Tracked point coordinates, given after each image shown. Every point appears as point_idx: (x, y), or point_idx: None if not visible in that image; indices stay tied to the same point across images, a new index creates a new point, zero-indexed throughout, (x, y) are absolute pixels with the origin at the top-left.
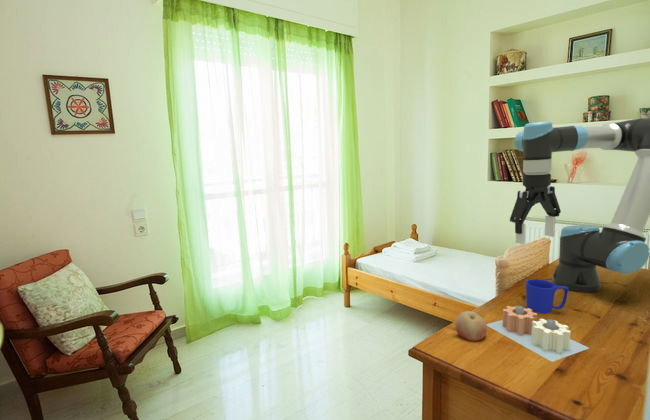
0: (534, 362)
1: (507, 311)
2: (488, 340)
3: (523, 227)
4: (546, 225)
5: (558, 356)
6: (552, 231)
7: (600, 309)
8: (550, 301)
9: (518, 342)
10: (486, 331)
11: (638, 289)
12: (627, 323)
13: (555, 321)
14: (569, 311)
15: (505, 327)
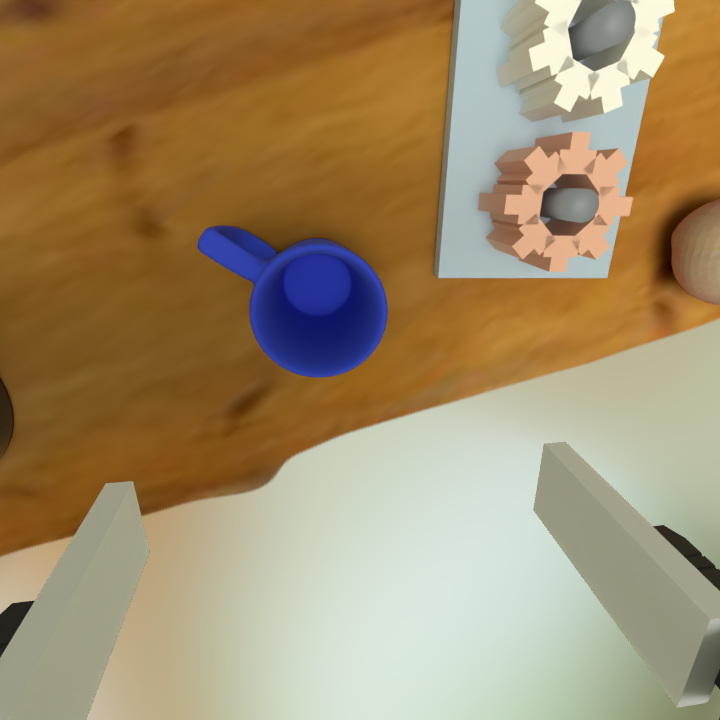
0: (672, 22)
1: (604, 233)
2: (654, 211)
3: (698, 573)
4: (106, 642)
5: None
6: (113, 528)
7: (40, 180)
8: (319, 240)
9: (636, 122)
10: (709, 205)
11: None
12: (54, 25)
13: (539, 53)
14: (192, 231)
15: None
